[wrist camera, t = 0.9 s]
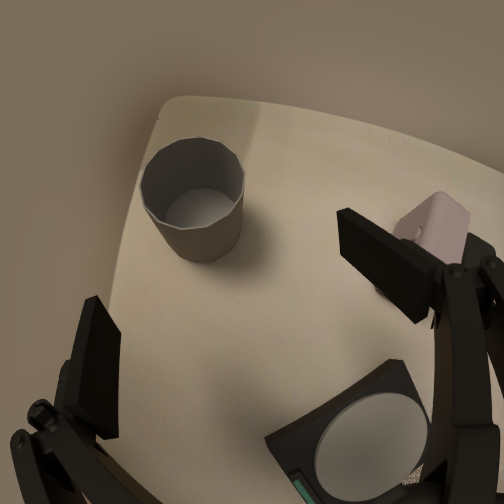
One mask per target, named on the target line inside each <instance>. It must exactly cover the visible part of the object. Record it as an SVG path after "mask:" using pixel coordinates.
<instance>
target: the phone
mask: <svg viewBox="0 0 504 504" xmlns="http://www.w3.org/2000/svg"><path fill="white" fill-rule="evenodd" d="M484 255H494V256H496V252H495V249H494V248H493V246H491V245H490V244H488V243H487V242H485V241H484V240H482V239H480V238H479V237H477V236H475V235H474V234H472V233H467V237H466V242H465V247H464V251H463V256H462V263H461V264H462V265H464V266H466V267H467V268H468V269H469V268H473V267H477V266H479V262H480V258H481V257H482V256H484Z"/></svg>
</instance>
